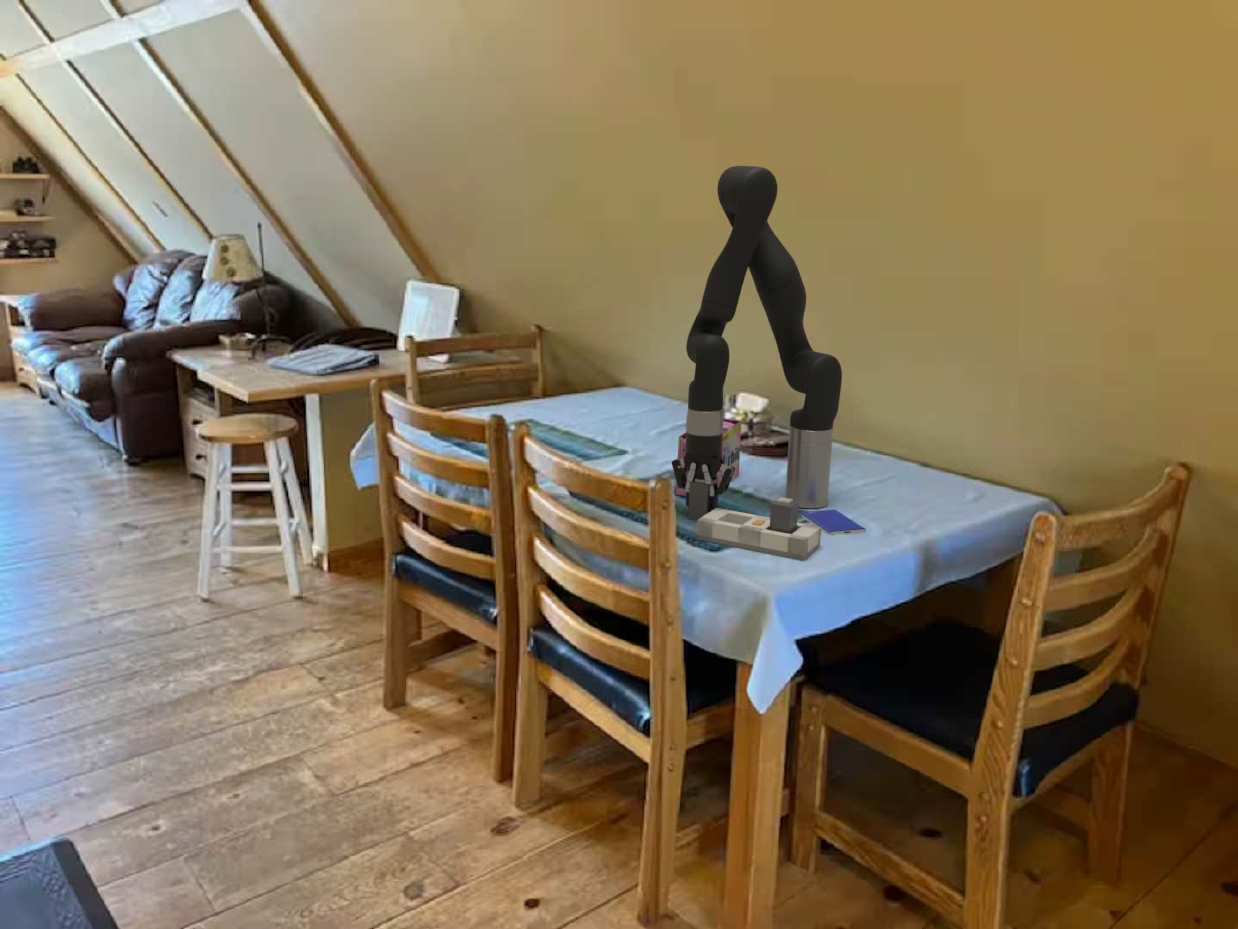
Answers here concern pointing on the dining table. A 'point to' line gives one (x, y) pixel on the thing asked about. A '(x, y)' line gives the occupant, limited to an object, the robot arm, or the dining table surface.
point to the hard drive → (833, 522)
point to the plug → (698, 499)
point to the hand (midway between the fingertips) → (701, 509)
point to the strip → (757, 534)
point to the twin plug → (784, 515)
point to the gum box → (728, 450)
